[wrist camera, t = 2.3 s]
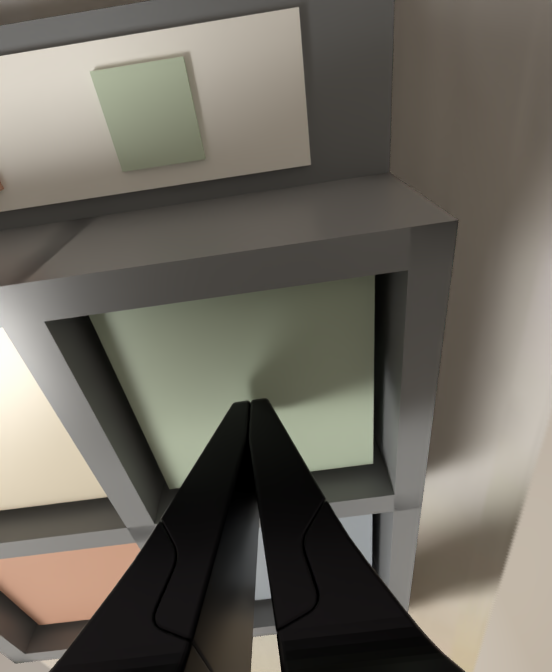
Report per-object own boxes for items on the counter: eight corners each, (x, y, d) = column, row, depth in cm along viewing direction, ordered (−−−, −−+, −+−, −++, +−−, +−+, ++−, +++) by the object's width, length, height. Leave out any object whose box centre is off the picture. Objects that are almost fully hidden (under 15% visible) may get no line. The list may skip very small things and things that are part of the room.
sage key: (361, 425, 13) (373, 463, 11) (177, 448, 13) (169, 489, 11) (358, 247, 9) (374, 274, 8) (110, 283, 9) (88, 315, 8)
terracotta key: (188, 569, 17) (183, 608, 16) (54, 585, 17) (39, 625, 16) (145, 485, 14) (134, 525, 12) (-21, 506, 14) (-48, 548, 13)
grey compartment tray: (371, 495, 20) (406, 619, 15) (68, 532, 21) (15, 663, 16) (375, -25, 9) (504, -133, 4) (-281, 85, 9) (-779, 91, 5)
